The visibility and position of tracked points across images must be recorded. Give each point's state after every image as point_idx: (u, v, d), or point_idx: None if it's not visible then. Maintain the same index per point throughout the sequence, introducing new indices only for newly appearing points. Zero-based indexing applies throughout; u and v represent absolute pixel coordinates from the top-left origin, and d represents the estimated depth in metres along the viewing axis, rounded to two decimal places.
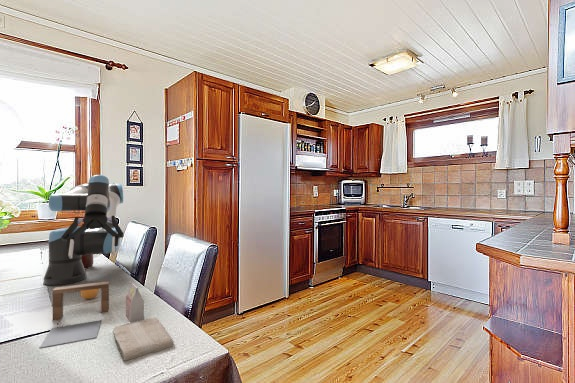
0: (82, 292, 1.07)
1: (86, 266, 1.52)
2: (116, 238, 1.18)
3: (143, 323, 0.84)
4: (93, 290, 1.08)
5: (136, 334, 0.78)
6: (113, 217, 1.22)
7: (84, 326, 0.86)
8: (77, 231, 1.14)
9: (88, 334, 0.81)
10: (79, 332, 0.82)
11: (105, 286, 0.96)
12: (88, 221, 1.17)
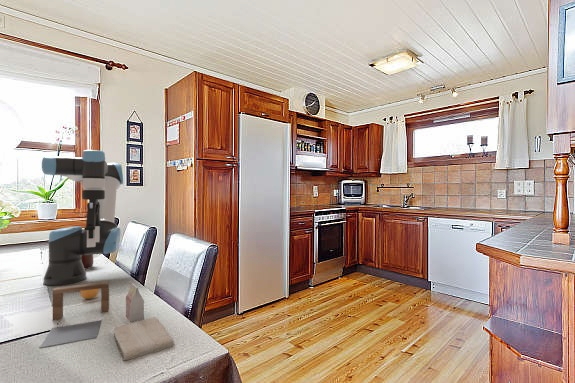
0: (82, 292, 1.07)
1: (86, 266, 1.52)
2: None
3: (143, 323, 0.84)
4: (93, 290, 1.08)
5: (136, 334, 0.78)
6: (87, 205, 1.12)
7: (84, 326, 0.86)
8: None
9: (88, 334, 0.81)
10: (79, 332, 0.82)
11: (105, 286, 0.96)
12: None
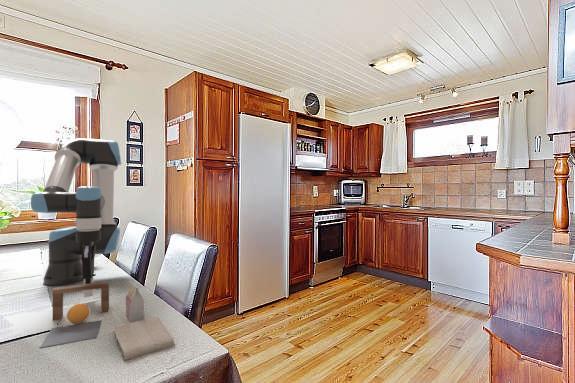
0: None
1: None
2: None
3: (144, 322, 0.84)
4: (84, 320, 0.89)
5: (137, 333, 0.78)
6: None
7: (84, 326, 0.86)
8: None
9: (88, 334, 0.81)
10: (79, 332, 0.82)
11: (105, 286, 0.96)
12: None
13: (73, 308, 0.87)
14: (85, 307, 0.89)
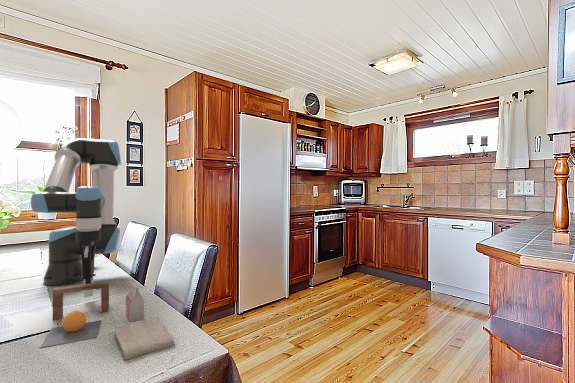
0: None
1: None
2: None
3: (144, 322, 0.84)
4: None
5: (137, 333, 0.78)
6: None
7: (84, 326, 0.86)
8: None
9: (88, 334, 0.81)
10: (79, 332, 0.82)
11: (105, 286, 0.96)
12: None
13: (69, 331, 0.82)
14: (81, 327, 0.83)
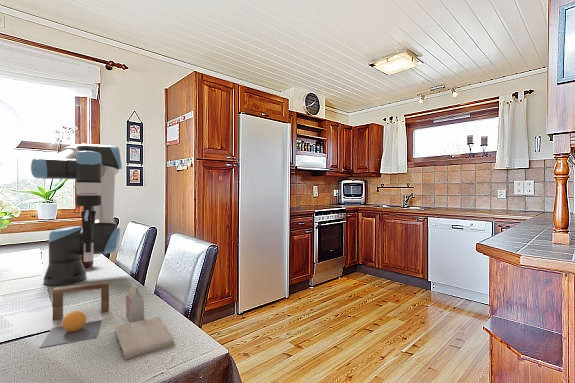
0: None
1: (86, 266, 1.52)
2: (85, 244, 1.05)
3: (145, 322, 0.84)
4: None
5: (137, 333, 0.78)
6: None
7: (84, 326, 0.86)
8: None
9: (88, 334, 0.81)
10: (79, 332, 0.82)
11: (105, 286, 0.96)
12: None
13: (69, 331, 0.82)
14: (81, 327, 0.83)
